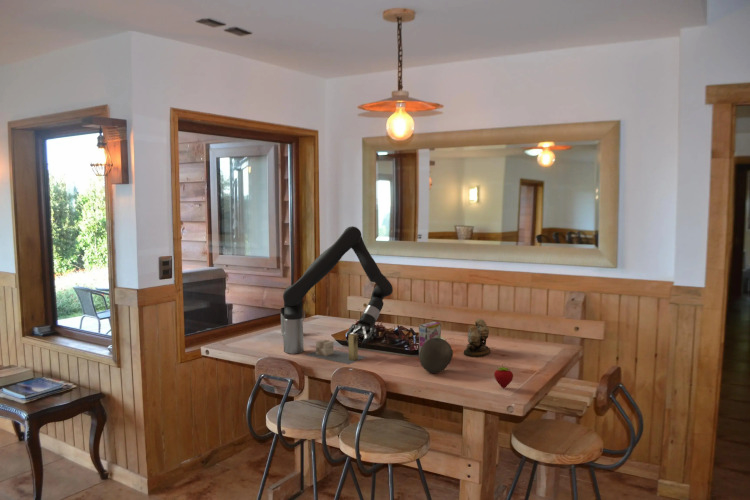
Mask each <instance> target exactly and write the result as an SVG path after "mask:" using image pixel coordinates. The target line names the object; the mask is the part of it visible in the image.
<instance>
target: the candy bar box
mask: <svg viewBox="0 0 750 500" xmlns="http://www.w3.org/2000/svg"><path fill="white" fill-rule="evenodd" d="M441 327H442V323H441V322H437V321H430V322H426V323H422V324H418V359H419V360H420V356H419V355H420V350H421V348H422V346H423V344H424V343H425V342H426V341H427V340H429V339H431V338H441V339H442V337H441V332H442V328H441Z"/></svg>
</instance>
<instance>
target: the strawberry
mask: <svg viewBox="0 0 750 500" xmlns="http://www.w3.org/2000/svg"><path fill="white" fill-rule="evenodd" d="M503 365H504V364H502V366H501V367H498V369H496V370H495V371H494V374H493V376H494V379H495V381H496V382H497V383H498V385H499V386H500V387H501V388H502V389H505V388H507V387H508V386H509V384H511V382H512V381H513V379H514V373H513V371H510V370H511V369H510V368H508V367H505V366H503Z"/></svg>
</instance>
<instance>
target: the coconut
mask: <svg viewBox="0 0 750 500" xmlns="http://www.w3.org/2000/svg"><path fill="white" fill-rule="evenodd" d="M453 354H454V351H453V348H452V346H451V344H450V343H449V342H448V341H447V340H446V339H443V338H442V337H441V338H431V339H429V340H427V341H426V342H425V343H424V344H423V346H422V348H421V350H420V355H419V354H418V357H419V356H420V359H419V362H420V365H421V367H422V369H424V370H425V371H426V372H429V373H430V374H436V373H440V372H442V371H444V370H445V369H447V367H448V366H449V365H450V364H451V362H452V360H453V357H454V355H453Z"/></svg>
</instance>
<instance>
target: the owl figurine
mask: <svg viewBox="0 0 750 500" xmlns="http://www.w3.org/2000/svg"><path fill="white" fill-rule="evenodd" d="M474 323H475V326H474V325H471V326H469V329H468V332H467V342H468V343H467V344H466V348H465V349H464V351H463V354H464V356H466V357H470V358H480V357H481V358H482V357H485V356H489V354H490V353H491V348H490V347H489V346H488V345H487V339H488V338H489V335H490V332H489V331H490V330H489V329H490V328H489V327H488V326H487V322H486V321H485V320H484V319H482V318H477V319H476V320H475V321H474Z"/></svg>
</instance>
